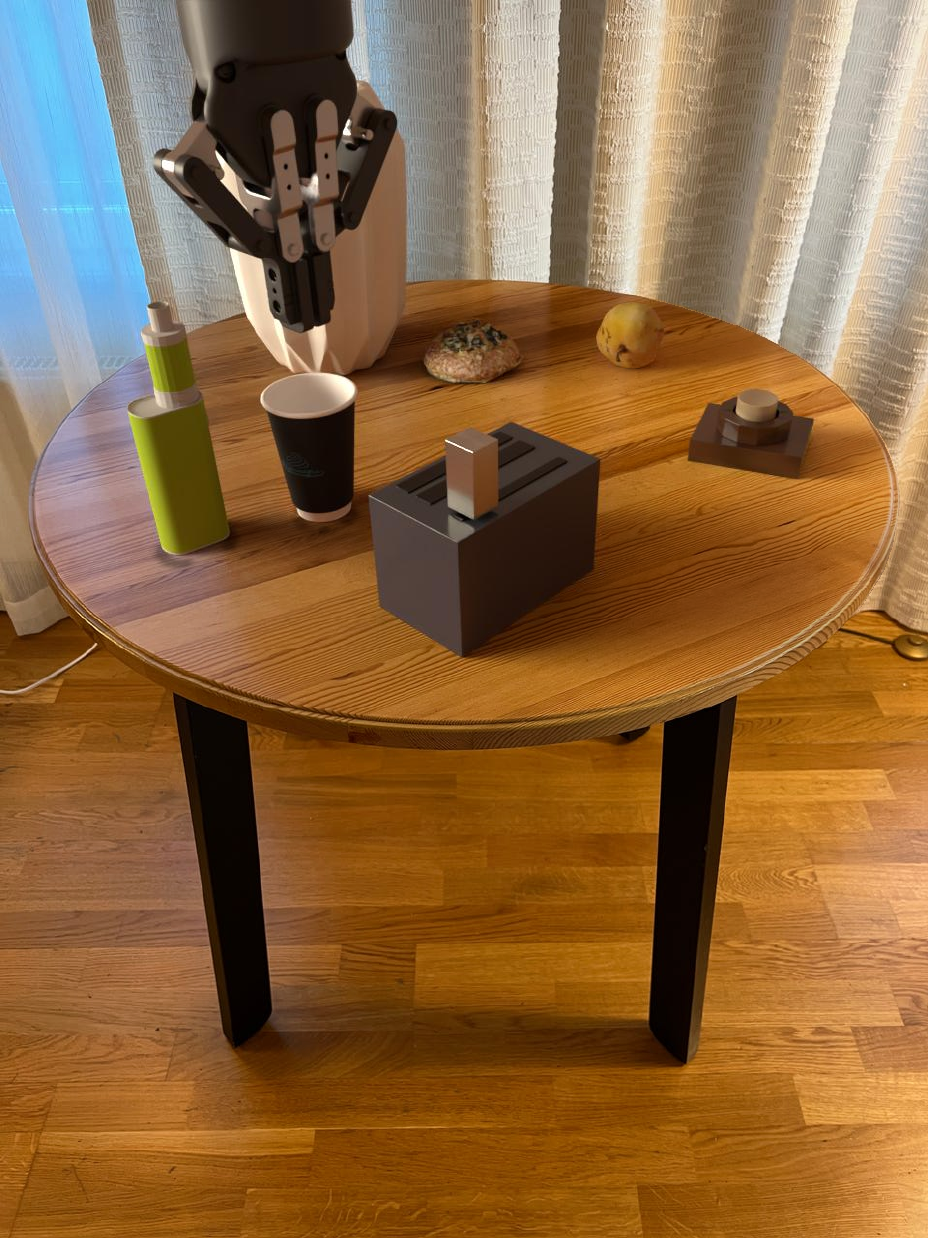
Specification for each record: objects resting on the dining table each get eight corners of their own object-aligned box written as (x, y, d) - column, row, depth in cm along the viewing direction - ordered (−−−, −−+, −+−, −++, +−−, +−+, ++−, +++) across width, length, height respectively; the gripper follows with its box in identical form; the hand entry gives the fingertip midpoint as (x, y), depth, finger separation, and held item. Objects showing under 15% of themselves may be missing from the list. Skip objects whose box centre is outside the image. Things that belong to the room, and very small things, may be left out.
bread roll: (451, 334, 119) (454, 294, 115) (536, 364, 115) (542, 323, 112) (401, 375, 111) (403, 334, 108) (491, 408, 108) (496, 366, 105)
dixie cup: (281, 537, 87) (261, 419, 80) (277, 490, 93) (258, 377, 86) (374, 525, 88) (362, 408, 81) (363, 479, 94) (352, 367, 87)
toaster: (462, 658, 73) (457, 541, 67) (379, 606, 78) (368, 493, 72) (593, 569, 82) (600, 457, 75) (511, 527, 87) (511, 419, 80)
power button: (778, 409, 95) (781, 392, 94) (771, 426, 92) (775, 408, 91) (739, 403, 96) (741, 386, 95) (731, 420, 93) (734, 402, 92)
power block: (810, 439, 97) (818, 400, 95) (797, 479, 92) (805, 439, 89) (705, 422, 101) (710, 385, 98) (687, 460, 95) (692, 421, 92)
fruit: (651, 336, 103) (686, 301, 110) (591, 309, 105) (629, 276, 112) (631, 393, 108) (665, 356, 115) (574, 366, 110) (611, 331, 117)
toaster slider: (474, 520, 69) (472, 452, 66) (447, 506, 70) (444, 439, 67) (498, 506, 70) (498, 438, 67) (471, 493, 72) (469, 426, 68)
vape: (238, 534, 87) (193, 305, 75) (172, 559, 84) (115, 326, 72) (219, 516, 89) (172, 291, 77) (154, 539, 87) (96, 310, 74)
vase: (215, 351, 118) (166, 87, 101) (359, 309, 126) (335, 61, 110) (298, 410, 105) (257, 120, 88) (451, 359, 114) (440, 87, 97)
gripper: (165, -58, 37) (242, 387, 47) (431, -86, 44) (446, 305, 55) (63, -66, 41) (155, 344, 52) (321, -91, 48) (355, 274, 59)
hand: (305, 323), depth 53 cm, fingers closed
